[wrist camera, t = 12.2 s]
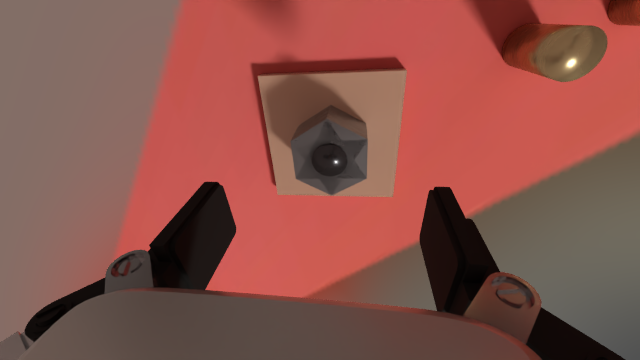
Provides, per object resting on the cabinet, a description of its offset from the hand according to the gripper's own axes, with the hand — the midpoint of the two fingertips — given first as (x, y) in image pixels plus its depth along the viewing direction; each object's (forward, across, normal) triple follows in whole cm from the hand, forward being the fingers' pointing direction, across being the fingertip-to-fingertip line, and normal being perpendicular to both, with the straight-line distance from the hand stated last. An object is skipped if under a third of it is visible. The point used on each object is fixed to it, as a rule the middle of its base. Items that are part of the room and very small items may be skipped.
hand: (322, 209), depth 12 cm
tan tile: (+10, 0, +1) cm, 10 cm away
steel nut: (+9, 0, +1) cm, 9 cm away
